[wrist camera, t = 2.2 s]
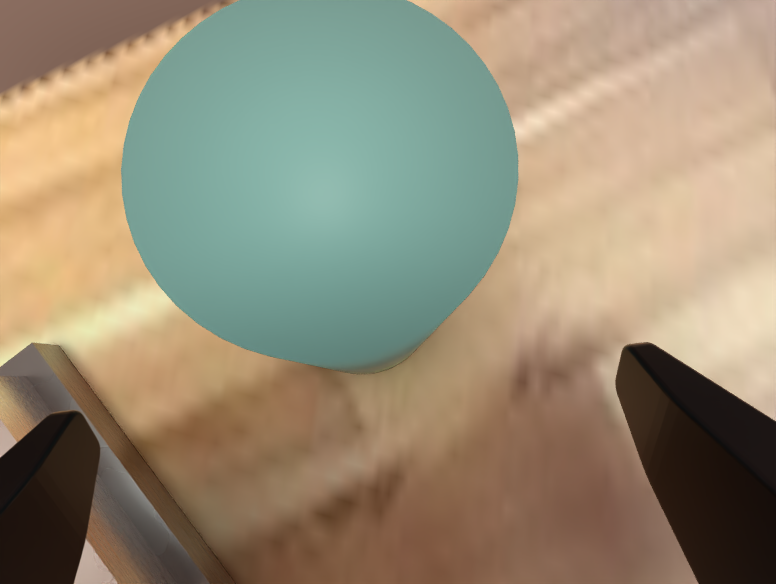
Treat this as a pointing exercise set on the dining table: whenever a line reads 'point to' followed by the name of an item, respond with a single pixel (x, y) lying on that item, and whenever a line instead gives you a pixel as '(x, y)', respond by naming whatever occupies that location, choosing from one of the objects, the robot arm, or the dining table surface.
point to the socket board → (107, 482)
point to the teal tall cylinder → (320, 177)
